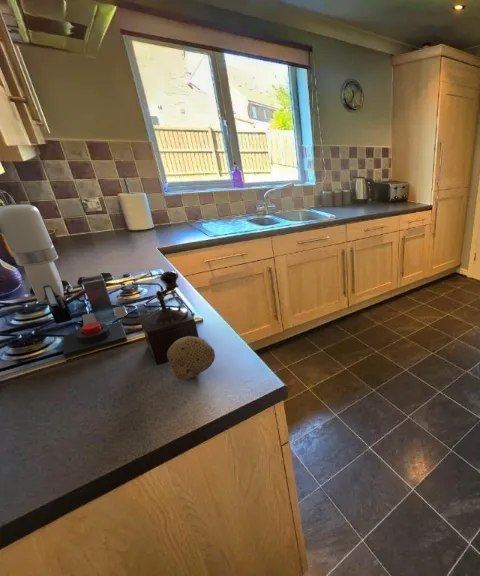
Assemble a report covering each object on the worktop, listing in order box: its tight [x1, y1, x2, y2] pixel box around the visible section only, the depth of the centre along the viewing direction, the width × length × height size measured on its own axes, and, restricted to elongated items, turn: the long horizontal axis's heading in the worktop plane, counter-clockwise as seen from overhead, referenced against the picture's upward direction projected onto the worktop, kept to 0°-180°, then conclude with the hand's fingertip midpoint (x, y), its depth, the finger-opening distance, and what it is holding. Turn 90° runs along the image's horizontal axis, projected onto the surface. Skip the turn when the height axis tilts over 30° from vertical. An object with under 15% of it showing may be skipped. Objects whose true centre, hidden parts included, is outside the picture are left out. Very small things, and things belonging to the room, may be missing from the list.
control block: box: [62, 321, 129, 362], centre depth 84 cm, size 12×10×4 cm
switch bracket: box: [81, 274, 128, 326], centre depth 94 cm, size 10×8×13 cm
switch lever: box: [48, 278, 98, 313], centre depth 90 cm, size 13×3×3 cm, turn 131°
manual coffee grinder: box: [138, 270, 200, 366], centre depth 83 cm, size 16×11×18 cm
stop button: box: [81, 322, 102, 335], centre depth 83 cm, size 4×4×2 cm
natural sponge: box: [167, 336, 216, 381], centre depth 74 cm, size 9×9×10 cm
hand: (63, 318), depth 90 cm, fingers closed on switch lever, 3 cm apart
